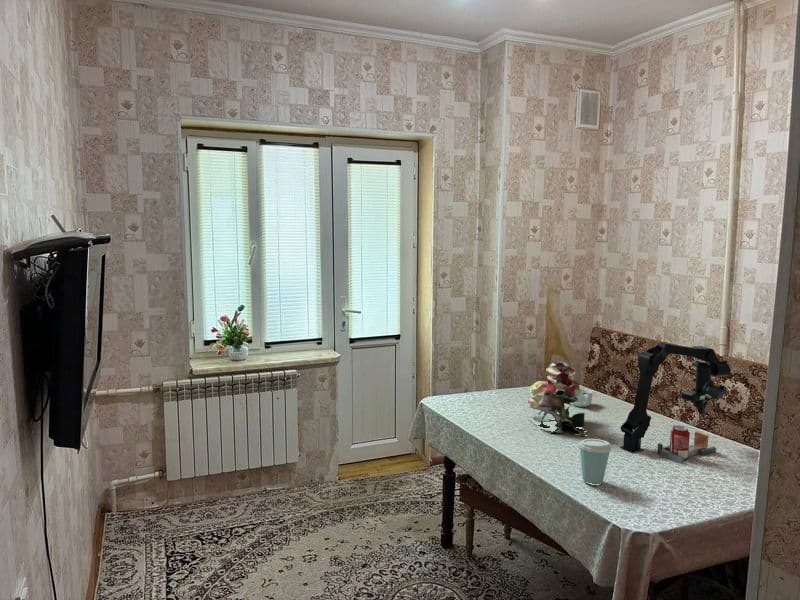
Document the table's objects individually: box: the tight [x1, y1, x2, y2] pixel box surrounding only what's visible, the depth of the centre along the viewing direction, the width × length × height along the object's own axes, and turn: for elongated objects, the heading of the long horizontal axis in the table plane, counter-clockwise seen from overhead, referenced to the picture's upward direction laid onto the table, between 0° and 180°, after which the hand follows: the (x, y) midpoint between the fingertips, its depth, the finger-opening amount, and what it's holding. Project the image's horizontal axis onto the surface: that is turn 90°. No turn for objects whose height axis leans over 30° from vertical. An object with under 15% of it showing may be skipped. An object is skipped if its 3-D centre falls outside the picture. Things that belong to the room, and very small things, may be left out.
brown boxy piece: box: [688, 431, 709, 457], centre depth 230 cm, size 10×5×7 cm, turn 116°
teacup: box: [572, 387, 594, 408], centre depth 293 cm, size 14×11×8 cm
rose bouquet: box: [527, 361, 594, 438], centre depth 262 cm, size 26×29×30 cm
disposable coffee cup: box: [579, 438, 612, 484], centre depth 203 cm, size 11×11×15 cm
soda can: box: [669, 424, 691, 461], centre depth 226 cm, size 7×7×12 cm
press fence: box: [657, 443, 684, 464], centre depth 228 cm, size 12×11×4 cm
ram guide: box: [689, 444, 717, 456], centre depth 233 cm, size 8×6×2 cm
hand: (701, 414), depth 239 cm, fingers closed
